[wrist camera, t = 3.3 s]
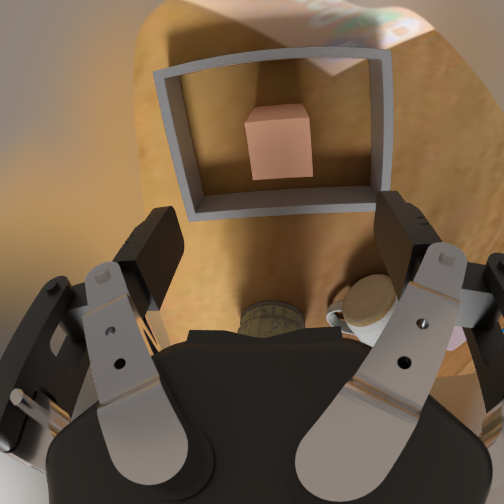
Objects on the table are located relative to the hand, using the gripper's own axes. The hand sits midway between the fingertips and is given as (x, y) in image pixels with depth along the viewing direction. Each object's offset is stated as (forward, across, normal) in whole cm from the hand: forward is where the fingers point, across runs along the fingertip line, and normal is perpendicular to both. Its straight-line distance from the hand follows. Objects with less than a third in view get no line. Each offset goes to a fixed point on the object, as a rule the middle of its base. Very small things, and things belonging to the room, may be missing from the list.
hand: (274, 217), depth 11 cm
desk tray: (+15, 0, 0) cm, 15 cm away
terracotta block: (+15, 0, 0) cm, 15 cm away
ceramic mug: (+16, -10, +21) cm, 28 cm away
